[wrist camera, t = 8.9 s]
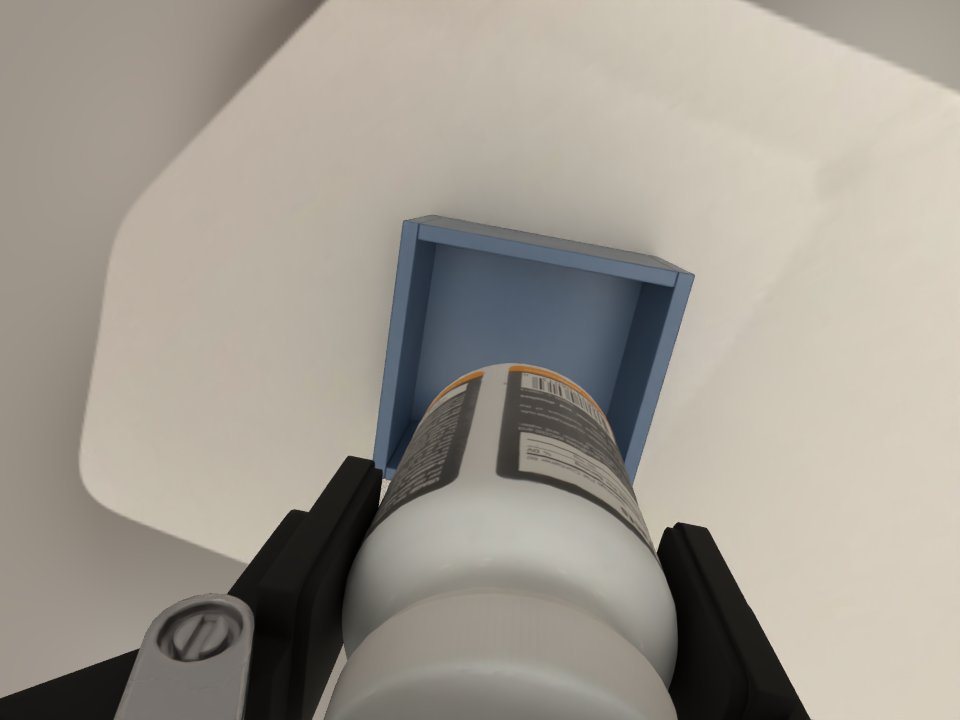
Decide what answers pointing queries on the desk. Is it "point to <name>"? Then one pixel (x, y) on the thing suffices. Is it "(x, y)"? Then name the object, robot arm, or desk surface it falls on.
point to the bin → (526, 323)
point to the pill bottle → (508, 568)
